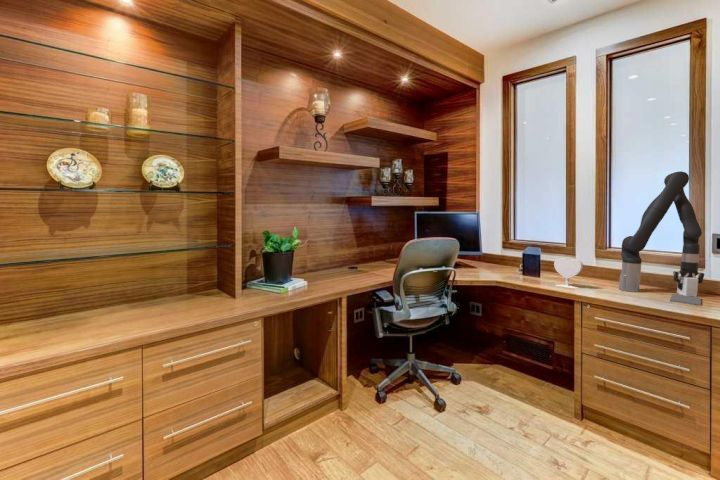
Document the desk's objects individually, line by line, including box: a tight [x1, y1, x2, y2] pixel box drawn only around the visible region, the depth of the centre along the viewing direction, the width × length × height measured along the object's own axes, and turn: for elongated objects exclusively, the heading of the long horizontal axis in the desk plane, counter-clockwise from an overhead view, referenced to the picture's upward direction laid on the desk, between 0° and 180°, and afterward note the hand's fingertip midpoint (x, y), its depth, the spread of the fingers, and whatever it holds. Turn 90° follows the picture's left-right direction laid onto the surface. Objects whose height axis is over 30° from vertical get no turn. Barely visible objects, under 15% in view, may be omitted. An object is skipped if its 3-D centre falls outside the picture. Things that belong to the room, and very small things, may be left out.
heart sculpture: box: [553, 257, 584, 290], centre depth 226 cm, size 16×5×18 cm, turn 42°
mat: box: [669, 293, 702, 306], centre depth 194 cm, size 18×12×1 cm, turn 136°
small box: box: [676, 275, 699, 297], centre depth 206 cm, size 8×6×10 cm
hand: (687, 289), depth 206 cm, fingers closed on small box, 6 cm apart
